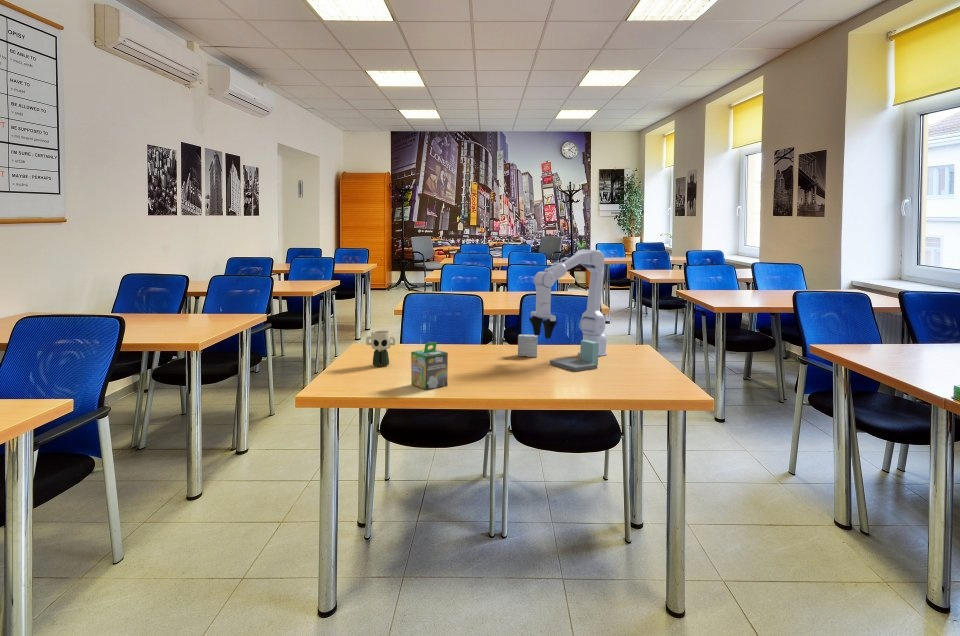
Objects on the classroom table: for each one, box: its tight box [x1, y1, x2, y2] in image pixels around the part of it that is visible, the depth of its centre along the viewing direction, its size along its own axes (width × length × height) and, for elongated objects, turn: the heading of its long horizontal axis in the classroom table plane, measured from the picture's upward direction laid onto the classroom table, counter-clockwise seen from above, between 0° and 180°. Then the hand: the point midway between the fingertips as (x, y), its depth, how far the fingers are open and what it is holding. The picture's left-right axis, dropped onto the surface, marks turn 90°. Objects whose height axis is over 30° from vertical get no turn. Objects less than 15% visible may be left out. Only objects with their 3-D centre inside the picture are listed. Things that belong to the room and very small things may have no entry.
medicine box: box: [517, 334, 538, 358], centre depth 263 cm, size 8×4×9 cm, turn 84°
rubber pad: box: [549, 357, 598, 373], centre depth 246 cm, size 11×15×2 cm
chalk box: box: [410, 341, 449, 391], centre depth 212 cm, size 9×9×15 cm
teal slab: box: [579, 339, 599, 366], centre depth 249 cm, size 3×7×9 cm, turn 32°
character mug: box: [365, 330, 396, 367], centre depth 241 cm, size 11×7×13 cm, turn 94°
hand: (542, 336), depth 251 cm, fingers open, 7 cm apart
